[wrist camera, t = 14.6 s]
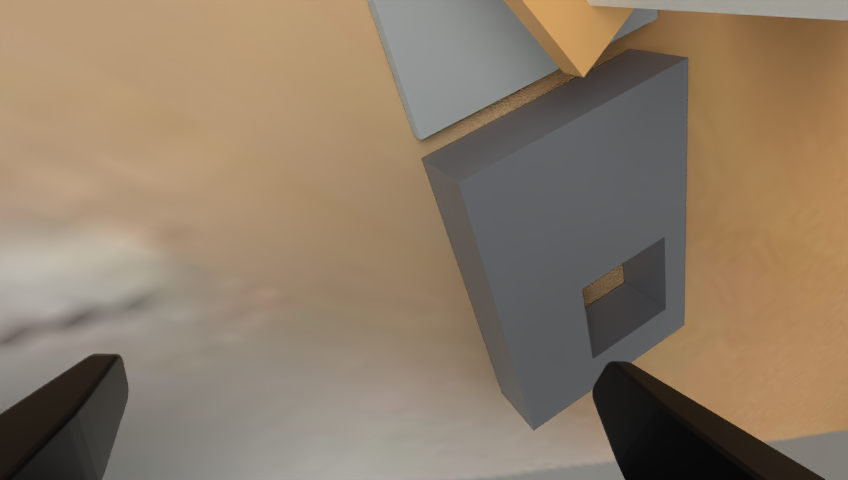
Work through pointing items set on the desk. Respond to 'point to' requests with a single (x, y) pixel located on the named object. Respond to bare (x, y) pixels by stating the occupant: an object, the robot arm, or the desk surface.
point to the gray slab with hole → (572, 226)
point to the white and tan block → (613, 3)
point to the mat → (462, 55)
